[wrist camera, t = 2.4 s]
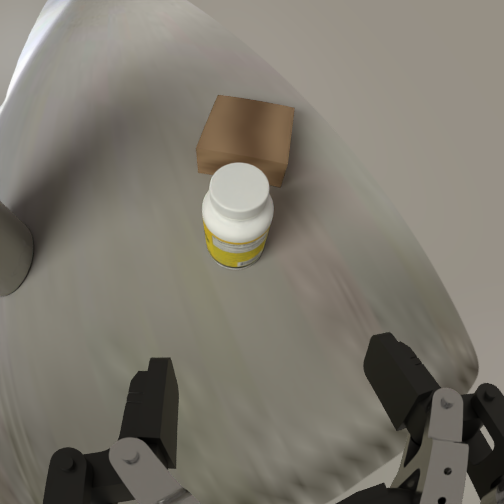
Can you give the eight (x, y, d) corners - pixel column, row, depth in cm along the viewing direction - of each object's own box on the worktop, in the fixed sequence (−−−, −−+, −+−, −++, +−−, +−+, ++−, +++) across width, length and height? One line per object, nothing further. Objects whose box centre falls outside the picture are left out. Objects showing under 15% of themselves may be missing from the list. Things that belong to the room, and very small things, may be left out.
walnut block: (198, 172, 31) (196, 148, 27) (217, 118, 34) (218, 94, 31) (280, 187, 31) (287, 164, 27) (288, 131, 34) (294, 107, 31)
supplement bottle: (216, 212, 29) (215, 146, 20) (269, 228, 29) (289, 166, 20) (198, 261, 27) (186, 207, 18) (254, 278, 27) (270, 231, 18)
